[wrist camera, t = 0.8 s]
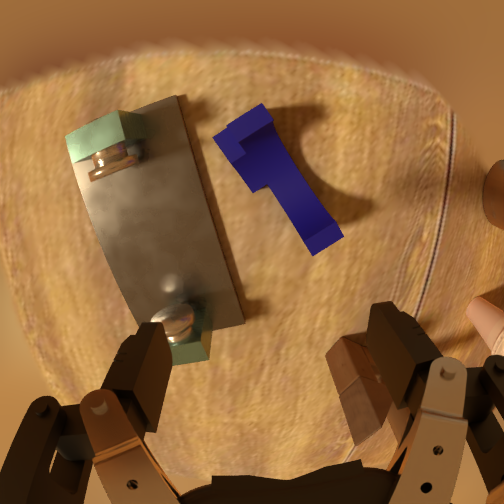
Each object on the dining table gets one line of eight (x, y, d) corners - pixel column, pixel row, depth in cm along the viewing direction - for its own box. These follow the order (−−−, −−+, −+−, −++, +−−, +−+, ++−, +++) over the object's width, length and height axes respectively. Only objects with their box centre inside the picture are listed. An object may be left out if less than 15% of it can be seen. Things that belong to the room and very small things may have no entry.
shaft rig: (177, 96, 23) (158, 84, 17) (245, 319, 32) (246, 359, 26) (70, 142, 24) (32, 147, 18) (149, 338, 33) (135, 375, 27)
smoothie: (456, 329, 35) (505, 388, 22) (464, 294, 33) (523, 352, 20) (483, 317, 35) (532, 369, 22) (491, 283, 33) (548, 333, 20)
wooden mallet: (341, 334, 34) (394, 459, 17) (393, 358, 36) (447, 456, 19) (323, 355, 35) (363, 479, 18) (376, 375, 37) (421, 474, 21)
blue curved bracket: (215, 137, 25) (208, 137, 19) (257, 110, 24) (262, 102, 19) (285, 240, 29) (296, 266, 23) (324, 216, 28) (344, 236, 23)
